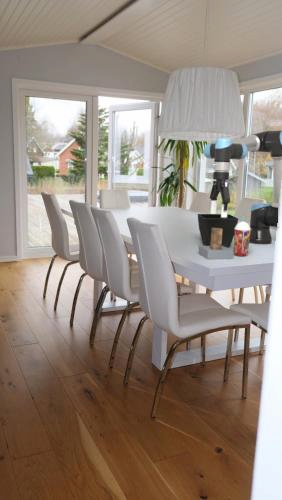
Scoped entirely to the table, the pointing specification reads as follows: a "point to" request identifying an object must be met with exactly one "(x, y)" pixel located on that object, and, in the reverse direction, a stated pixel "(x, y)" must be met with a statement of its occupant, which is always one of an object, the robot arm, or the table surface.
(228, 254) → the socket block
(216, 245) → the peg
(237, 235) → the smoothie
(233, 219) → the flower pot
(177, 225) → the table surface
